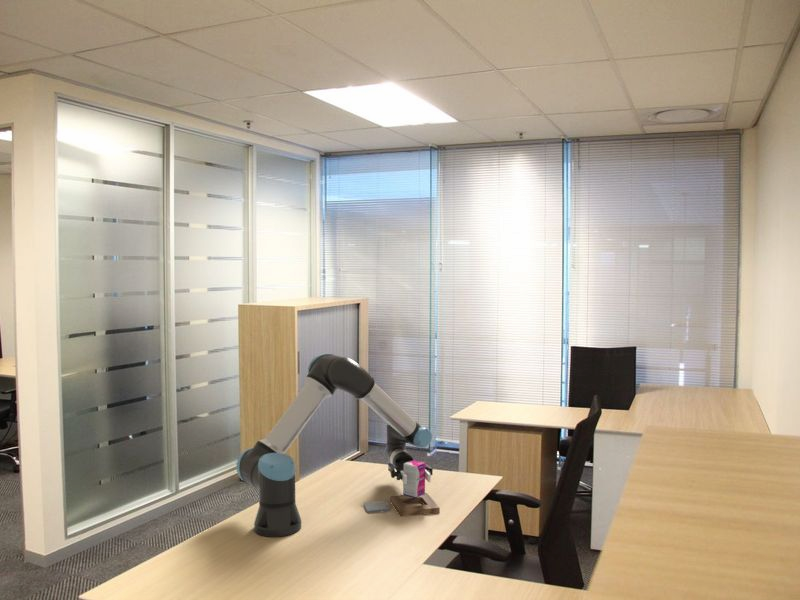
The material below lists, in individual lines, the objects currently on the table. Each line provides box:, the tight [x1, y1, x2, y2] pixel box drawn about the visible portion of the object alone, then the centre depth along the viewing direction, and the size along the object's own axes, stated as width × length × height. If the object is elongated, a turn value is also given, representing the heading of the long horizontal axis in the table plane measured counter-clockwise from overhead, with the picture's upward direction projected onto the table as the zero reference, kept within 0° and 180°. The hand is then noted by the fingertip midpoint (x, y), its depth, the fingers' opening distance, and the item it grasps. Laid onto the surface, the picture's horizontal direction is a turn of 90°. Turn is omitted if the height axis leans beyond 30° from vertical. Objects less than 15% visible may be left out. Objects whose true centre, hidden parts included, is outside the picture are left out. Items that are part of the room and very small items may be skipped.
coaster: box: [363, 500, 391, 514], centre depth 245 cm, size 8×8×1 cm
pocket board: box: [389, 492, 440, 517], centre depth 246 cm, size 14×16×2 cm
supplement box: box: [402, 459, 426, 498], centre depth 246 cm, size 6×6×12 cm
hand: (417, 479), depth 241 cm, fingers closed on supplement box, 8 cm apart
